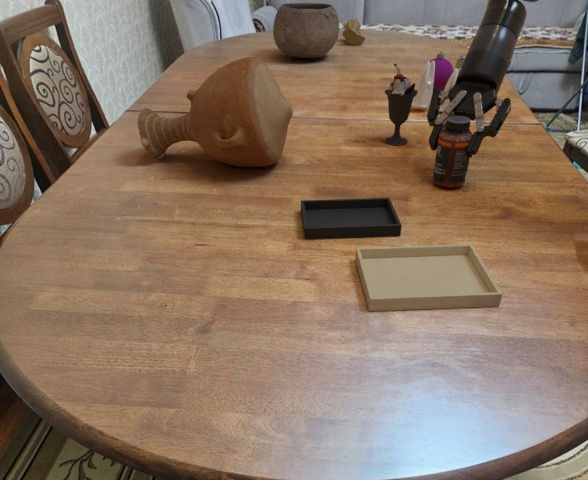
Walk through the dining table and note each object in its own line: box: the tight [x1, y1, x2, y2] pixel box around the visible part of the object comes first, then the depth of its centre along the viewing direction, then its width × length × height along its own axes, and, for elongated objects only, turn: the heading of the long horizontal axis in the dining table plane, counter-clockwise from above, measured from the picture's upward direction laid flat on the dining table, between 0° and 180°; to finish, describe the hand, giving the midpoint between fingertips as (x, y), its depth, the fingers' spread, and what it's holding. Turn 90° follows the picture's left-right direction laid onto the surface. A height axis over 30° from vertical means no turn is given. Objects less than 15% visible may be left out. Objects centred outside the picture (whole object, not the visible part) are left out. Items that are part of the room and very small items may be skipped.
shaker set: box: [411, 60, 461, 113], centre depth 130 cm, size 12×4×11 cm, turn 77°
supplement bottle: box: [432, 116, 473, 189], centre depth 97 cm, size 6×6×11 cm
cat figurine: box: [342, 18, 366, 46], centre depth 193 cm, size 8×7×12 cm
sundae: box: [384, 63, 418, 146], centre depth 113 cm, size 7×7×15 cm
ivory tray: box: [354, 243, 503, 312], centre depth 75 cm, size 17×13×2 cm
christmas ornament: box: [429, 49, 455, 91], centre depth 144 cm, size 8×8×10 cm
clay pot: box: [272, 2, 340, 59], centre depth 173 cm, size 21×21×15 cm
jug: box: [137, 56, 294, 168], centre depth 104 cm, size 20×19×30 cm
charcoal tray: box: [300, 197, 403, 240], centre depth 88 cm, size 15×10×2 cm, turn 93°
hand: (450, 151), depth 95 cm, fingers closed on supplement bottle, 6 cm apart
